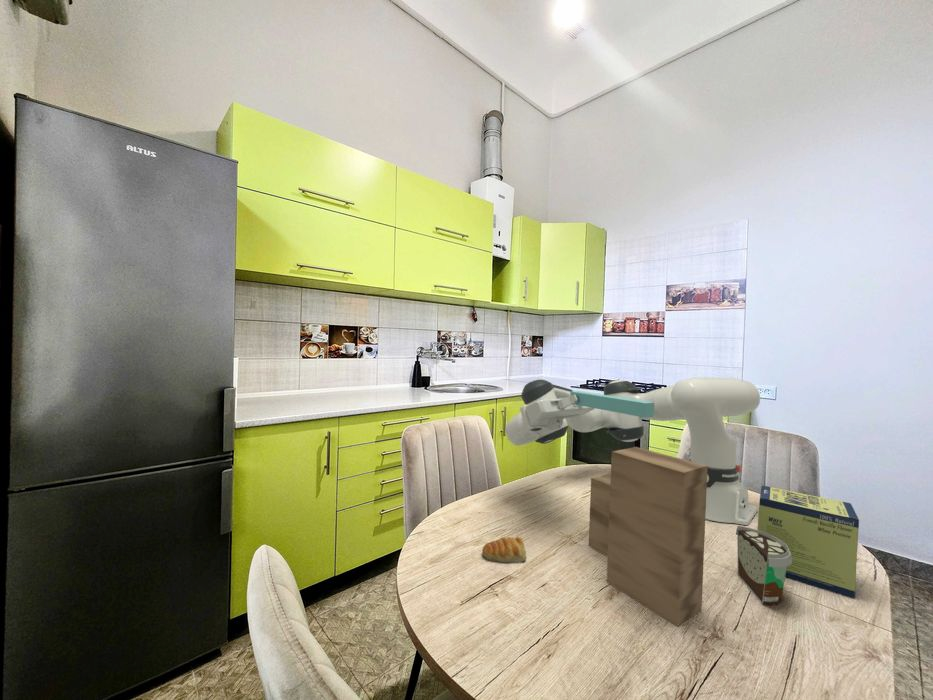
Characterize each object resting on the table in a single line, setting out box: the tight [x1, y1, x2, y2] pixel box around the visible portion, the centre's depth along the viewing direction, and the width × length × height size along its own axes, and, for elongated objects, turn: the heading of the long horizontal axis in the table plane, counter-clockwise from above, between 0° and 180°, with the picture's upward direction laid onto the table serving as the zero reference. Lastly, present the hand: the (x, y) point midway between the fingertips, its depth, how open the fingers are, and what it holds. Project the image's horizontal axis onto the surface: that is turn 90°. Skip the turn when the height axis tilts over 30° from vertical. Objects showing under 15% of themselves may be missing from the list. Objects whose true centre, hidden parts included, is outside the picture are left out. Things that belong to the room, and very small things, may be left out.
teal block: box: [570, 390, 654, 419], centre depth 88 cm, size 3×20×3 cm, turn 34°
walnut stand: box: [588, 446, 707, 627], centre depth 80 cm, size 18×25×26 cm
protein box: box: [756, 485, 860, 599], centre depth 82 cm, size 10×16×16 cm
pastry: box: [481, 536, 527, 564], centre depth 85 cm, size 9×7×4 cm
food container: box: [735, 525, 792, 607], centre depth 75 cm, size 12×6×10 cm, turn 168°
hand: (583, 396), depth 94 cm, fingers closed on teal block, 3 cm apart
